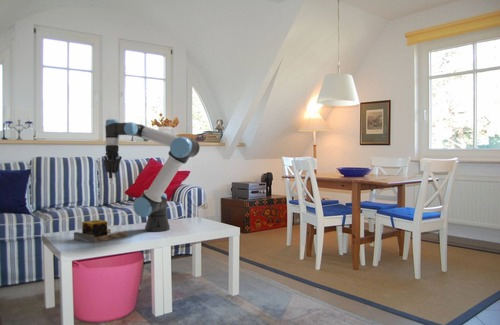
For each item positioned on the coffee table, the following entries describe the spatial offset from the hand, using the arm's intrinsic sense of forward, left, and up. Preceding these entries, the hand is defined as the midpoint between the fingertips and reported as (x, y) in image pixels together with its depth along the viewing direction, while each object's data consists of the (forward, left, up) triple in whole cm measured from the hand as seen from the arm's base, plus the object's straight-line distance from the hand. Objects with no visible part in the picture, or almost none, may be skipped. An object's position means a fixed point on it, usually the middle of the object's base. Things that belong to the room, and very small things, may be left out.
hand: (112, 183), depth 242 cm
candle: (+20, +11, -30) cm, 37 cm away
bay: (+15, +10, -29) cm, 34 cm away
